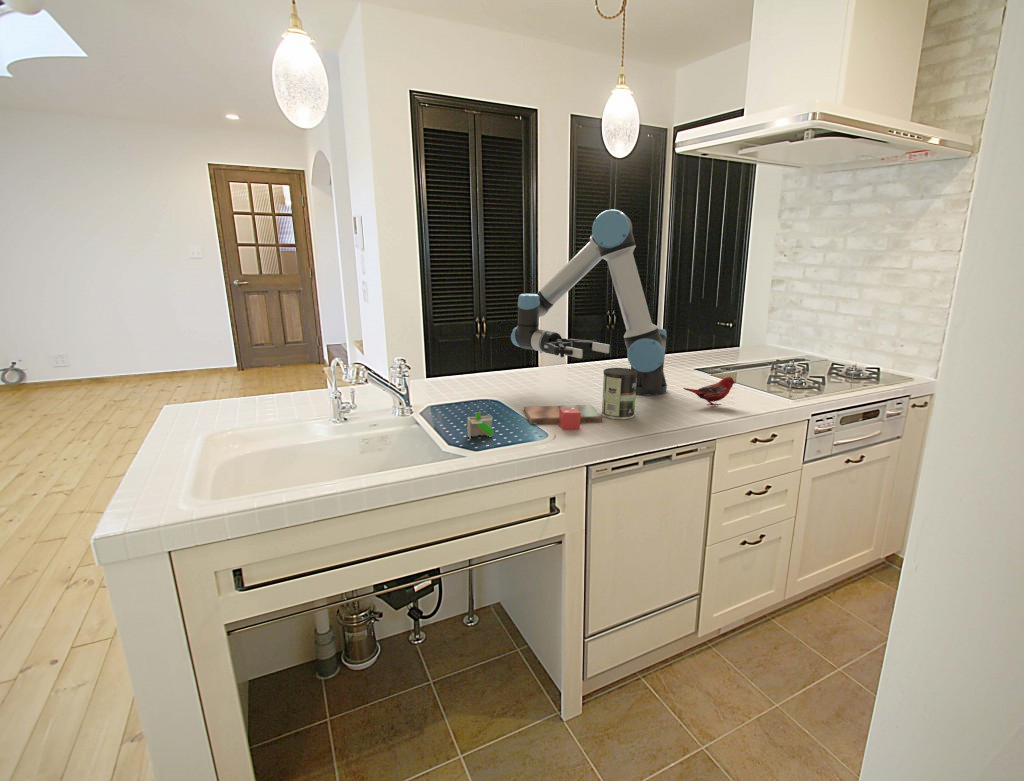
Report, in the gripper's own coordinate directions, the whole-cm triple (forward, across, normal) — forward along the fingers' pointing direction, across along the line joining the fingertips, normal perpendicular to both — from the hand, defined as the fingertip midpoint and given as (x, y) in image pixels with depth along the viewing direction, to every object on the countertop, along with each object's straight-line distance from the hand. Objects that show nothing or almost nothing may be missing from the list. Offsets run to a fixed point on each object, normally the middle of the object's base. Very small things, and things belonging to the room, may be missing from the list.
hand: (595, 351), depth 168 cm
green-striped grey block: (-3, +45, -20) cm, 49 cm away
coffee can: (+10, 0, -19) cm, 21 cm away
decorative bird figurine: (+24, -31, -19) cm, 43 cm away
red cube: (+8, +20, -19) cm, 29 cm away
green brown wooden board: (0, +14, -19) cm, 24 cm away
